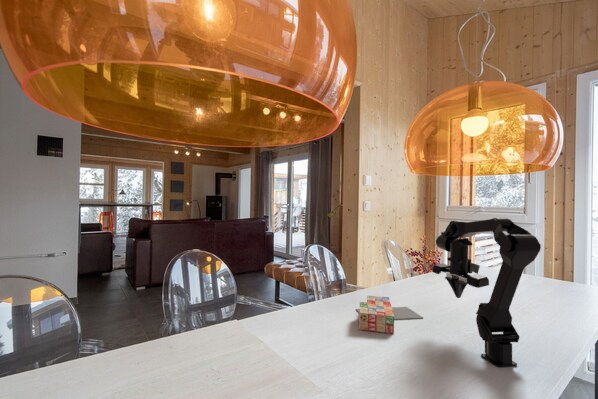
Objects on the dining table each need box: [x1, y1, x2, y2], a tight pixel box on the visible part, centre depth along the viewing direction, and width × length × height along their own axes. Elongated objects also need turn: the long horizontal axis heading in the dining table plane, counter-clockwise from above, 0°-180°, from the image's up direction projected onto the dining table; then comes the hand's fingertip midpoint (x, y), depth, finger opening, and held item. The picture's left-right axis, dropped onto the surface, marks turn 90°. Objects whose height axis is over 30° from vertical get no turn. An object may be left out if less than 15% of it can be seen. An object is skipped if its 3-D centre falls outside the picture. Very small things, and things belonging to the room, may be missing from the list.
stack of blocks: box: [358, 295, 395, 335], centre depth 115 cm, size 21×6×12 cm
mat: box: [355, 306, 424, 321], centre depth 123 cm, size 13×24×1 cm, turn 99°
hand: (458, 297), depth 106 cm, fingers closed
